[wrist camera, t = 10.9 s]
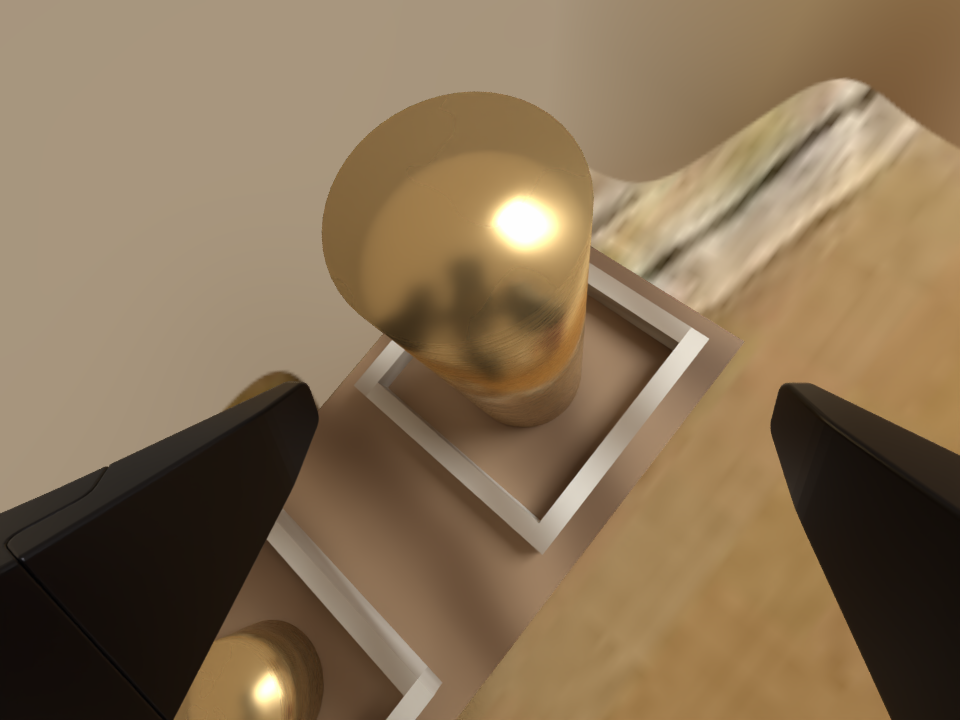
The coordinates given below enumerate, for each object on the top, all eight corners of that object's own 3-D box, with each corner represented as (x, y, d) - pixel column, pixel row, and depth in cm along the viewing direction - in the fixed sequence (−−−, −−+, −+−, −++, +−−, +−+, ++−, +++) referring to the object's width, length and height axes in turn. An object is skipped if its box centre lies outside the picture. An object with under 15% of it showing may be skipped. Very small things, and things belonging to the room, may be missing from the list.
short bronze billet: (296, 780, 18) (246, 835, 15) (196, 725, 20) (132, 767, 17) (340, 646, 19) (300, 674, 16) (242, 601, 21) (189, 620, 18)
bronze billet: (589, 420, 20) (615, 317, 7) (473, 433, 20) (321, 360, 8) (572, 309, 21) (571, 65, 9) (464, 326, 22) (321, 123, 9)
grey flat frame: (282, 939, 18) (235, 1013, 16) (112, 677, 22) (52, 702, 20) (732, 351, 21) (755, 332, 18) (507, 208, 25) (499, 176, 22)
